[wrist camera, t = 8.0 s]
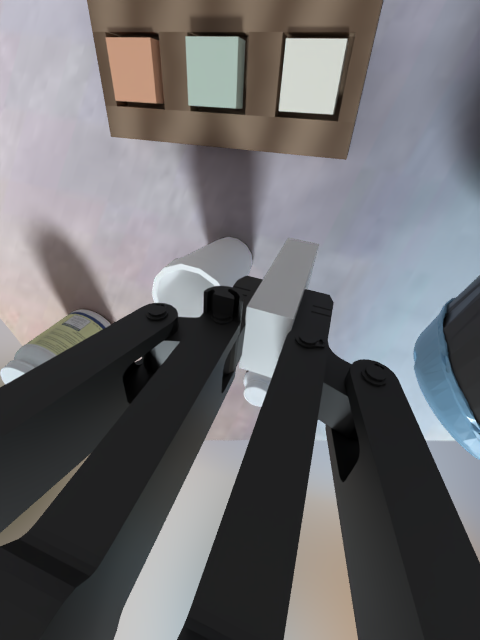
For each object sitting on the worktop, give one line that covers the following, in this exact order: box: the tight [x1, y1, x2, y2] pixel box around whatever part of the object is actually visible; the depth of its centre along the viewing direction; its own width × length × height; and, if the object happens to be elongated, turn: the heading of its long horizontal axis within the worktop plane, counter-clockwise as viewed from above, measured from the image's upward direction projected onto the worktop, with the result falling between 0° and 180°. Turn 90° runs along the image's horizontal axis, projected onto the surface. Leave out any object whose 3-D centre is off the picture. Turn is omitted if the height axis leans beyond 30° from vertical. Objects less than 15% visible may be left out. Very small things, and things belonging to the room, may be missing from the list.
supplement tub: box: [0, 309, 111, 384], centre depth 55 cm, size 12×12×17 cm
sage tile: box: [185, 36, 246, 109], centre depth 28 cm, size 5×5×2 cm
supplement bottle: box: [244, 370, 272, 407], centre depth 45 cm, size 6×6×10 cm
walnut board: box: [87, 0, 383, 160], centre depth 30 cm, size 27×12×3 cm, turn 87°
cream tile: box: [279, 38, 348, 115], centre depth 27 cm, size 5×5×2 cm
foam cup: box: [152, 237, 253, 317], centre depth 37 cm, size 10×9×13 cm
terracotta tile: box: [105, 37, 164, 104], centre depth 31 cm, size 5×5×2 cm
